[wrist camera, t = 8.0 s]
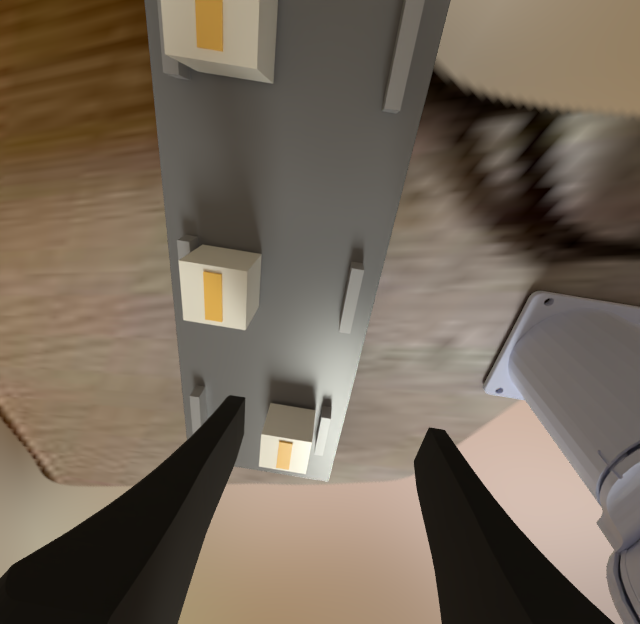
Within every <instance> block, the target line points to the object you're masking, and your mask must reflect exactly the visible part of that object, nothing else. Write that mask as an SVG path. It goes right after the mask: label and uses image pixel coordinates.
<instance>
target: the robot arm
mask: <svg viewBox="0 0 640 624" xmlns="http://www.w3.org/2000/svg"><path fill="white" fill-rule="evenodd" d="M548 298H550V300H549V301H548V302H547V303H544V301H545V300H546V299H548ZM498 388H500V389H498ZM483 389H484V391H485V392H486V393H487V394H490V395H496V396H502V397H508V398H514V399H521V400H525V401H526V402H527V403H528V405H529V406H530V408H531V409H532V410H533V412H534V413H535V414H536V416H537V417H538V419H539V420H540V422H541V423H542V424H543V426H544V427H545V429H546V430H547V431H548V433H549V434H550V436H551V437H552V438H553V440H554V441H555V443H556V444H557V445H558V447H559V448H560V449H561V451H562V453H563V454H564V455H565V457H566V458H567V459H568V461H569V462H570V464H571V465H572V467H573V468H574V469H575V471H576V472H577V473H578V475H579V476H580V478H581V479H582V481H583V482H584V483H585V485H586V486H587V488H588V489H589V491H590V492H591V493H592V495H593V496H594V497H595V499H596V500H597V502H598V503H599V504H600V506H601V507H602V510H603V513H602V516H601V518H600V519H599V520H598V521H597V525H598V526H599V528H600V529H601V531H602V532H603V534H604V535H605V537H606V538H607V540H608V541H609V543H610V544H611V546H612V547H613V549H614V551H613V553H612V554H611V556H610V557H609V560H608V563H607V582H608V587H609V591H610V594H611V597H612V600H613V602H614V605H615V607H616V609H617V612H618V613H619V615H620V618H621V619H622V622H623V624H640V307H638V306H632V305H626V304H620V303H614V302H608V301H601V300H595V299H589V298H583V297H577V296H571V295H564V294H558V293H552V292H546V291H536V292H534V293H532V294H531V295H530V296H529V298H528V300H527V302H526V304H525V306H524V308H523V310H522V312H521V314H520V316H519V317H518V319H517V321H516V323H515V325H514V327H513V329H512V331H511V333H510V335H509V337H508V339H507V341H506V342H505V344H504V346H503V348H502V350H501V352H500V354H499V356H498V358H497V360H496V362H495V364H494V366H493V367H492V369H491V371H490V373H489V375H488V377H487V379H486V381H485V383H484V385H483ZM496 389H498V390H496ZM244 425H245V397H239V396H233V395H229V396H228V397H226V399H225V400H224V401H223V402H222V404H221V405H220V406H219V407H218V408H217V409H216V410H215V412H214V413H213V414H212V415H211V416H210V417H209V418H208V419H207V420H206V421H205V423H204V424H203V425H202V426H201V427H200V428H199V429H198V430H197V431H196V432H195V433H194V434H193V435H192V436H191V437H190V438H189V439H188V440H187V441H186V442H185V443H184V444H182V445H181V446H180V447H179V448H178V449H177V450H176V451H175V452H174V453H173V454H172V455H171V456H170V457H168V458H167V459H166V460H165V461H164V462H163V463H162V464H160V465H159V466H158V467H157V468H156V469H155V470H153V471H152V472H151V473H150V474H148V475H147V476H146V477H145V478H144V479H142V480H141V481H140V482H138V483H137V484H136V485H134V486H133V487H132V488H131V489H129V490H128V491H127V492H125V493H124V494H123V495H121V496H120V497H119V498H117V499H116V500H114V501H113V502H112V503H111V504H109V505H107V506H106V507H104V508H103V509H101V510H100V511H99V512H97V513H95V514H94V515H92V516H91V517H90V518H88V519H86V520H85V521H83V522H82V523H81V524H79V525H78V526H76V527H74V528H73V529H72V530H70V531H69V532H67V533H65V534H63V535H62V536H61V537H59V538H57V539H55V540H54V541H52V542H50V543H49V544H47V545H45V546H44V547H42V548H40V549H38V550H37V551H35V552H33V553H32V554H30V555H28V556H27V557H25V558H23V559H22V560H20V561H18V562H16V563H15V564H13V565H12V566H11V567H10V568H9V569H8V571H7V572H6V573H5V574H4V575H3V576H2V577H1V578H0V624H178V620H179V617H180V614H181V611H182V607H183V604H184V601H185V597H186V594H187V591H188V588H189V585H190V581H191V579H192V575H193V572H194V569H195V565H196V563H197V560H198V557H199V553H200V550H201V548H202V544H203V541H204V538H205V535H206V532H207V529H208V527H209V525H210V522H211V519H212V517H213V515H214V512H215V510H216V507H217V505H218V503H219V500H220V498H221V495H222V493H223V491H224V488H225V486H226V484H227V481H228V479H229V476H230V474H231V472H232V469H233V467H234V464H235V462H236V459H237V456H238V453H239V450H240V446H241V443H242V439H243V436H244ZM414 468H415V478H416V486H417V493H418V497H419V502H420V506H421V511H422V515H423V520H424V524H425V528H426V532H427V537H428V541H429V545H430V550H431V554H432V559H433V565H434V569H435V576H436V583H437V590H438V597H439V604H440V612H441V620H442V624H615V623H613V622H612V621H611V620H610V619H609V618H608V617H607V616H606V615H604V613H602V612H601V611H600V610H599V609H598V608H597V607H596V606H595V605H594V604H593V603H591V602H590V601H589V600H588V599H587V598H586V597H585V596H584V595H583V594H582V593H581V592H580V591H579V590H578V589H577V588H576V587H575V586H574V585H573V584H572V583H571V582H570V581H569V580H568V579H567V578H566V577H565V576H563V575H562V573H561V572H560V571H559V570H558V569H556V567H555V566H554V565H553V564H552V563H551V562H550V561H549V560H548V559H547V558H546V557H545V556H544V555H543V554H542V553H541V552H540V551H539V550H538V549H537V548H536V546H534V544H533V543H532V542H531V541H530V540H529V539H528V538H527V537H526V535H525V534H524V533H523V532H522V531H521V530H520V529H519V528H518V526H517V525H516V524H515V523H514V522H513V521H512V520H511V518H510V517H509V516H508V515H507V514H506V512H505V511H504V510H503V508H502V507H501V506H500V505H499V504H498V502H497V501H496V500H495V499H494V498H493V496H492V495H491V493H490V492H489V491H488V490H487V488H486V487H485V486H484V484H483V483H482V482H481V480H480V479H479V478H478V476H477V475H476V474H475V472H474V471H473V469H472V468H471V467H470V465H469V464H468V462H467V461H466V460H465V458H464V457H463V455H462V454H461V453H460V451H459V450H458V448H457V447H456V445H455V444H454V443H453V441H452V440H451V438H450V437H449V435H448V434H447V433H446V431H445V430H442V429H435V428H429V429H428V431H427V433H426V435H425V438H424V440H423V442H422V444H421V447H420V449H419V451H418V453H417V455H416V458H415V460H414Z"/></svg>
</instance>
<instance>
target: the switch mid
mask: <svg viewBox="0 0 640 624" xmlns="http://www.w3.org/2000/svg"><path fill="white" fill-rule="evenodd" d="M261 257H262V254H258V253H252V252H246V251H240V250H234V249H227V248H221V247H215V246H209V245H201V246H200V247H198V248H197V249H195V250H193V251H192V252H190V253H189V254H187V255H186V256H184V257H183V258H181V259H180V260H178V261H179V273H180V285H181V297H182V309H183V320H185V321H191V322H198V323H204V324H210V325H216V326H222V327H228V328H234V329H241V330H246V329H247V327H248V325H249V323H250V322H251V320H252V318H253V316H254V314H255V313H256V311H257V309H258V307H259V295H260V276H261Z"/></svg>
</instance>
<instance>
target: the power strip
mask: <svg viewBox="0 0 640 624" xmlns="http://www.w3.org/2000/svg"><path fill="white" fill-rule="evenodd" d="M449 4H450V0H278V11H277V29H276V47H275V64H274V82H273V84H272V83H266V82H259V81H253V80H247V79H241V78H235V77H228V76H222V75H216V74H210V73H204V72H198V71H196V70H194V69H192V68H190V67H188V66H186V65H185V64H183V63H181V62H179V61H177V60H175V59H173V58H171V57H169V56H167V55H165V49H164V37H163V24H162V11H161V0H145V9H146V20H147V30H148V40H149V51H150V61H151V71H152V82H153V92H154V103H155V113H156V123H157V134H158V144H159V154H160V165H161V175H162V186H163V196H164V206H165V217H166V227H167V237H168V248H169V258H170V268H171V279H172V289H173V300H174V310H175V320H176V331H177V341H178V351H179V362H180V372H181V383H182V393H183V403H184V414H185V424H186V434H187V440H188V439H189V438H190V437H191V436H192V435H193V434H194V433H195V432H196V431H197V430H198V429H199V428H200V427H201V426H202V425H203V424H204V423H205V421H206V420H207V419H208V418H209V417H210V416H211V415H212V414H213V413H214V412H215V410H216V409H217V408H218V407H219V406H220V405H221V404H222V402H223V401H224V400H225V399H226V397H228V396H229V395H233V396H239V397H245V425H244V436H243V439H242V443H241V446H240V450H239V453H238V456H237V459H236V462H235V464H234V466H235V467H241V468H247V469H253V470H260V471H266V472H272V473H278V474H284V475H290V476H296V477H302V478H308V479H315V480H321V481H327V482H329V478H330V474H331V470H332V466H333V462H334V458H335V454H336V450H337V446H338V442H339V438H340V434H341V430H342V426H343V422H344V418H345V414H346V411H347V407H348V403H349V399H350V395H351V391H352V387H353V383H354V379H355V375H356V371H357V367H358V363H359V359H360V355H361V351H362V347H363V343H364V340H365V336H366V332H367V328H368V324H369V320H370V316H371V312H372V308H373V304H374V300H375V296H376V292H377V288H378V284H379V280H380V276H381V272H382V269H383V265H384V261H385V257H386V253H387V249H388V245H389V241H390V237H391V233H392V229H393V225H394V221H395V217H396V213H397V209H398V205H399V201H400V198H401V194H402V190H403V186H404V182H405V178H406V174H407V170H408V166H409V162H410V158H411V154H412V150H413V146H414V142H415V138H416V134H417V130H418V127H419V123H420V119H421V115H422V111H423V107H424V103H425V99H426V95H427V91H428V87H429V83H430V79H431V75H432V71H433V67H434V63H435V59H436V56H437V52H438V48H439V44H440V39H441V36H442V32H443V28H444V24H445V20H446V16H447V12H448V8H449ZM201 245H209V246H215V247H221V248H227V249H234V250H240V251H246V252H252V253H258V254H262V257H261V276H260V295H259V307H258V309H257V311H256V313H255V314H254V316H253V318H252V320H251V322H250V323H249V325H248V327H247V329H246V330H241V329H234V328H228V327H222V326H216V325H210V324H204V323H198V322H191V321H185V320H183V309H182V297H181V285H180V273H179V261H178V260H180V259H181V258H183V257H184V256H186V255H187V254H189V253H190V252H192V251H193V250H195V249H197V248H198V247H200V246H201ZM270 403H274V404H280V405H286V406H292V407H298V408H304V409H311V410H316V413H315V421H314V429H313V438H312V445H311V450H310V455H309V460H308V466H307V471H306V474H301V473H295V472H289V471H283V470H277V469H271V468H265V467H259V458H260V444H261V433H262V430H263V427H264V423H265V420H266V417H267V413H268V410H269V407H270Z"/></svg>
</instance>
